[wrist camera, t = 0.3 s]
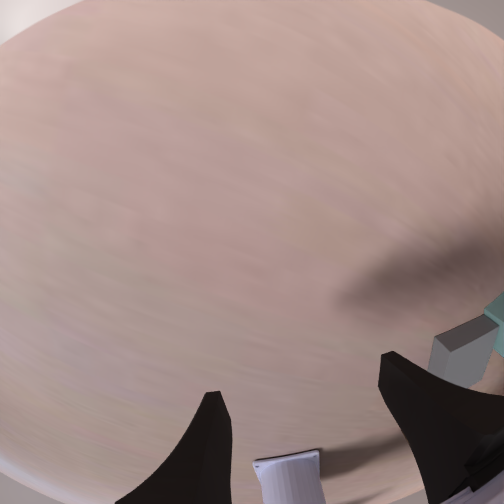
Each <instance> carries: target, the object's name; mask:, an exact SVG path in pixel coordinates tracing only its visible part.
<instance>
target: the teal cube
mask: <svg viewBox="0 0 504 504" xmlns="http://www.w3.org/2000/svg"><path fill="white" fill-rule="evenodd" d="M484 315H485V316H487V317H488V318H489V319H491V320H492V321H493V322H495V323H496V324H497V325H499V330H498V333H497V337H496V340H495V343H494V346H493V349H495V350H496V351H497V352H498V353H499V354H500V355H501V356H502V357H503V358H504V292H503V293H502V294H501V295H499V296H498V297H497V298H496V299H495V300H494V301H493V302H491V303H490V304H489V305H488V306H487V307H486V308H484Z"/></svg>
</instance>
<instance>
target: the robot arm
mask: <svg viewBox="0 0 504 504" xmlns="http://www.w3.org/2000/svg"><path fill="white" fill-rule="evenodd" d="M378 387H379V390H380V392H381V395H382V397H383V399H384V401H385V404H386V405H387V407H388V409H389V410H390V412H391V414H392V415H393V417H394V419H395V420H396V422H397V423H398V425H399V427H400V428H401V430H402V432H403V433H404V435H405V437H406V439H407V441H408V443H409V445H410V447H411V450H412V452H413V454H414V457H415V459H416V462H417V465H418V468H419V470H420V473H421V477H422V480H423V483H424V486H425V490H426V494H427V499H428V503H429V504H504V396H500V395H493V394H487V393H482V392H478V391H474V390H470V389H467V388H464V387H461V386H458V385H455V384H453V383H450V382H448V381H446V380H444V379H441V378H439V377H437V376H435V375H433V374H431V373H430V372H428V371H426V370H424V369H422V368H421V367H419V366H417V365H416V364H414V363H412V362H411V361H409V360H407V359H406V358H404V357H403V356H401V355H399V354H398V353H396V352H394V351H391V352H388V353H385V354H382V355H381V363H380V373H379V381H378ZM231 458H232V426H231V418H230V416H229V413H228V411H227V408H226V405H225V403H224V400H223V398H222V395H221V392H220V391H214V392H206V393H205V395H204V397H203V399H202V401H201V404H200V406H199V408H198V410H197V412H196V414H195V416H194V418H193V420H192V421H191V423H190V425H189V427H188V429H187V430H186V432H185V433H184V435H183V437H182V438H181V440H180V441H179V443H178V444H177V446H176V447H175V448H174V450H173V451H172V452H171V454H170V455H169V456H168V457H167V459H166V460H165V461H164V462H163V463H162V464H161V465H160V467H159V468H158V469H157V470H156V471H155V472H154V473H153V474H152V475H151V476H150V477H149V478H147V479H146V480H145V481H144V482H143V483H142V484H140V485H139V486H138V487H137V488H135V489H134V490H133V491H131V492H130V493H128V494H127V495H126V496H124V497H123V498H121V499H119V500H118V501H116V502H115V504H232V501H231V488H230V476H231ZM253 467H254V469H255V472H256V474H257V476H258V479H259V481H260V483H261V486H262V496H263V504H326V501H325V497H324V493H323V489H322V485H321V481H320V468H319V451H318V450H313V451H309V452H304V453H300V454H295V455H290V456H284V457H278V458H272V459H266V460H258V461H254V462H253Z"/></svg>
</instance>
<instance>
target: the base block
mask: <svg viewBox="0 0 504 504" xmlns="http://www.w3.org/2000/svg"><path fill="white" fill-rule="evenodd" d="M498 330H499V325H497V324H496V323H495V322H493V321H492V320H491V319H489V318H488V317H487V316H485V315H484V314H483V315H481V316H479V317H477V318H475V319H473V320H471V321H469V322H467V323H465V324H463V325H461V326H458V327H456V328H454V329H452V330H449V331H447V332H445V333H442V334H440V335H438V336H435V337H434V343H433V348H432V352H431V357H430V361H429V366H428V370H427V371H428V372H430V373H431V374H433V375H435V376H437V377H439V378H441V379H444V380H446V381H448V382H450V383H453V384H455V385H458V386H461V387H464V388H469V387H470V386H472V385H474V384H475V383H477V382H479V381H480V380H482V377H483V375H484V372H485V370H486V367H487V364H488V361H489V359H490V356H491V353H492V350H493V346H494V343H495V340H496V337H497V333H498Z"/></svg>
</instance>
